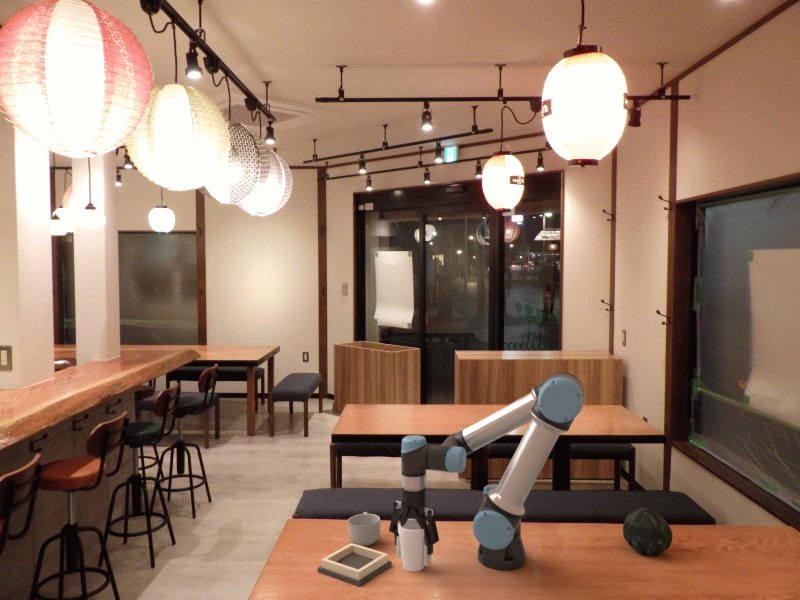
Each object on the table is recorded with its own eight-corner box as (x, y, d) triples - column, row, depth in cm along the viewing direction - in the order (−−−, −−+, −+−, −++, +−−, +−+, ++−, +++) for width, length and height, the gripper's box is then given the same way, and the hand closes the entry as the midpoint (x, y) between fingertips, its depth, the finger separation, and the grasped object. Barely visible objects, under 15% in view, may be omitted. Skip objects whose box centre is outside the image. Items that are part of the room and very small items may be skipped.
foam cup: (406, 576, 184) (407, 533, 183) (392, 563, 192) (392, 522, 192) (434, 569, 188) (434, 527, 188) (419, 557, 196) (419, 516, 196)
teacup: (375, 550, 202) (375, 526, 201) (343, 547, 204) (343, 523, 203) (385, 533, 215) (385, 510, 215) (355, 531, 217) (355, 508, 217)
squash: (657, 521, 212) (633, 492, 208) (689, 541, 197) (664, 509, 194) (630, 552, 210) (605, 522, 206) (659, 574, 195) (633, 543, 192)
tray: (391, 565, 191) (391, 553, 191) (359, 586, 178) (359, 574, 178) (351, 552, 200) (351, 541, 200) (317, 571, 187) (317, 559, 187)
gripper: (451, 490, 186) (451, 564, 187) (391, 477, 199) (391, 547, 199) (438, 498, 180) (438, 574, 181) (377, 483, 192) (377, 555, 193)
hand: (413, 560), depth 190 cm, fingers closed on foam cup, 9 cm apart
